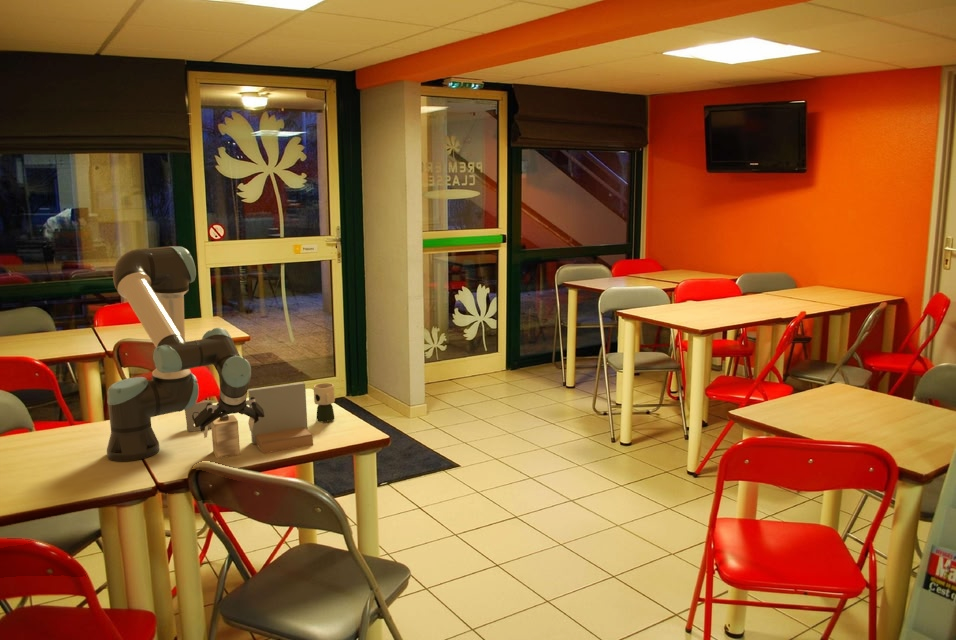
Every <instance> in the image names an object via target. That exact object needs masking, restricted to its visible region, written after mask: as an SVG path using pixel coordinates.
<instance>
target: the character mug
mask: <svg viewBox="0 0 956 640" xmlns="http://www.w3.org/2000/svg"><path fill="white" fill-rule="evenodd" d="M335 398H336V397H335V384H333V383H331V382H322V383H316V384H314V385H313V401H314V404H315V405H317V407H316V421H317V422H320V423H328V422H330V421H334V420H335V419H336V417H335V411H334V407H333V405H332V404H334V403H335V401H336V399H335Z"/></svg>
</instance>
